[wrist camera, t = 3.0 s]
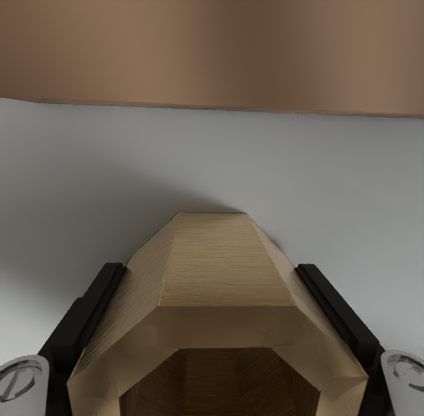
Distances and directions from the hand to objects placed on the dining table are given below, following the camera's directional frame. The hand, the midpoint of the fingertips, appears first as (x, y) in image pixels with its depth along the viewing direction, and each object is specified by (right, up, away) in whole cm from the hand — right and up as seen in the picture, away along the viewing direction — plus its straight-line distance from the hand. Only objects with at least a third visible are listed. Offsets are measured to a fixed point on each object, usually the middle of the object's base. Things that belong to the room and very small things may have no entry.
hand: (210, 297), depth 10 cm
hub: (0, 0, +1) cm, 1 cm away
